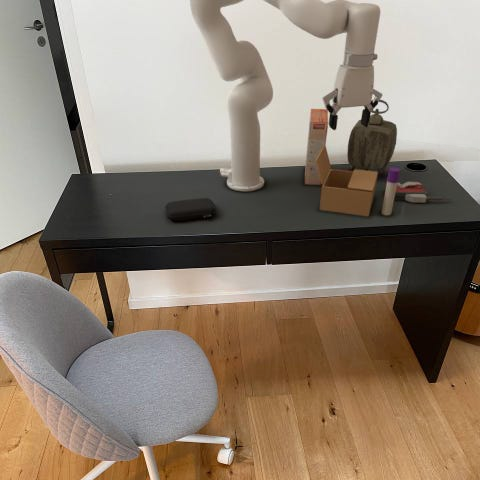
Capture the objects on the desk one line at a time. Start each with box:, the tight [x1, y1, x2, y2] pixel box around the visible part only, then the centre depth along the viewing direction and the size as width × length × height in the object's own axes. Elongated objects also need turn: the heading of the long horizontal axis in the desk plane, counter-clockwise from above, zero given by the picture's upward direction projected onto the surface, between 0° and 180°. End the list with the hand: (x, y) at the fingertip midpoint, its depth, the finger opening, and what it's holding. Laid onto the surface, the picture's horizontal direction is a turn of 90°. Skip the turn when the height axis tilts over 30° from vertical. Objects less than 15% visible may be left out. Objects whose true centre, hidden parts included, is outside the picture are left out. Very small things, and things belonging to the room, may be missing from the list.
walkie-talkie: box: [394, 181, 452, 204], centre depth 157 cm, size 9×4×20 cm
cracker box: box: [304, 108, 329, 186], centre depth 165 cm, size 14×6×21 cm, turn 173°
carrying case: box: [164, 197, 217, 222], centre depth 150 cm, size 11×3×15 cm
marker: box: [381, 166, 401, 216], centre depth 146 cm, size 3×3×14 cm
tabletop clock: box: [346, 99, 398, 176], centre depth 164 cm, size 14×9×25 cm, turn 66°
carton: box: [319, 168, 379, 217], centre depth 152 cm, size 15×14×9 cm
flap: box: [315, 144, 332, 185], centre depth 150 cm, size 7×14×1 cm
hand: (348, 126), depth 140 cm, fingers open, 9 cm apart
